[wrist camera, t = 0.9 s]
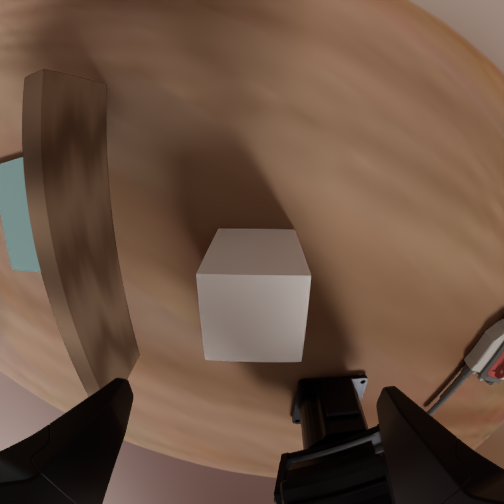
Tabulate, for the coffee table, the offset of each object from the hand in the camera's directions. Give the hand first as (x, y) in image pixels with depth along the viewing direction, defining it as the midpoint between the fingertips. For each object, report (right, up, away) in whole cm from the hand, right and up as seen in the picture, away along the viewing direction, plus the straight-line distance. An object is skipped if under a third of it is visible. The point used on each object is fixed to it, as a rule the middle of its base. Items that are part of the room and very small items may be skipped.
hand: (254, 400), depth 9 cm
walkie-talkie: (+27, -6, +15) cm, 32 cm away
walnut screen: (-11, +6, +11) cm, 16 cm away
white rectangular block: (0, +4, +11) cm, 12 cm away
